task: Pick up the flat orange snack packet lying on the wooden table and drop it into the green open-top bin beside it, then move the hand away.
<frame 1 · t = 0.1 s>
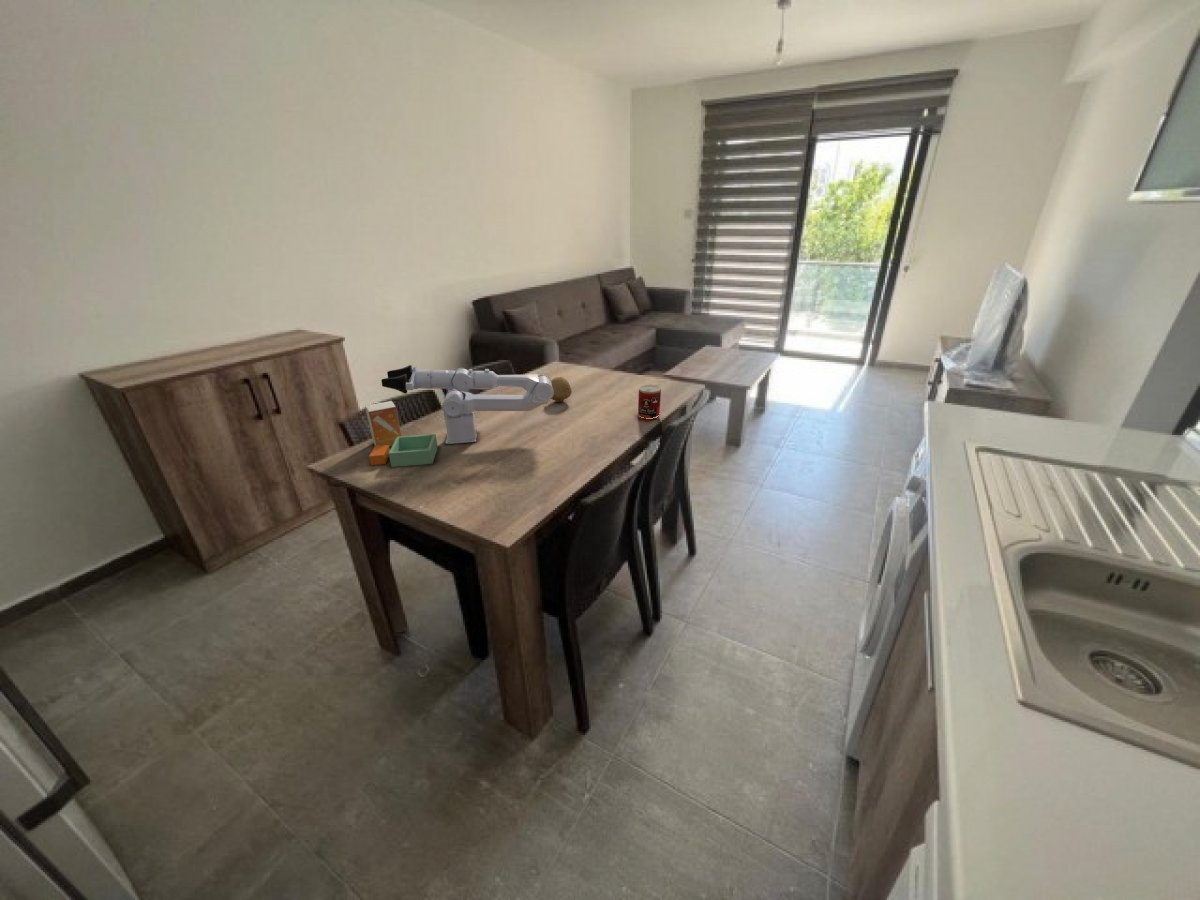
hand: (384, 378, 145), 22 cm above the table, tool horizontal, fingers open, 7 cm apart
natural sponge: (560, 402, 187), on the table
small box: (388, 444, 154), on the table
canned food: (648, 417, 173), on the table
packet: (381, 459, 144), on the table
green open-top bin: (415, 456, 146), on the table
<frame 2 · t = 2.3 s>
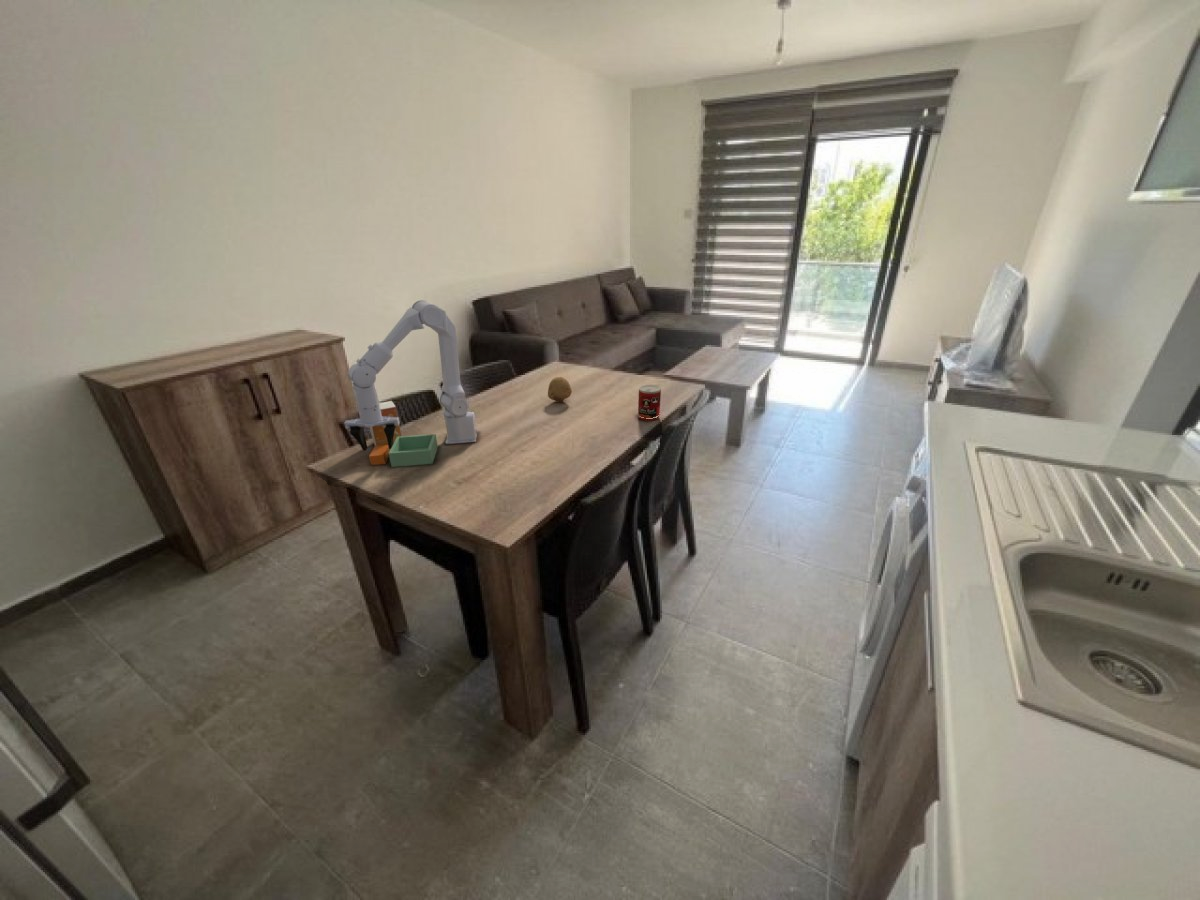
hand: (378, 448, 143), 4 cm above the table, tool pointing down, fingers open, 7 cm apart
nothing on the table moved.
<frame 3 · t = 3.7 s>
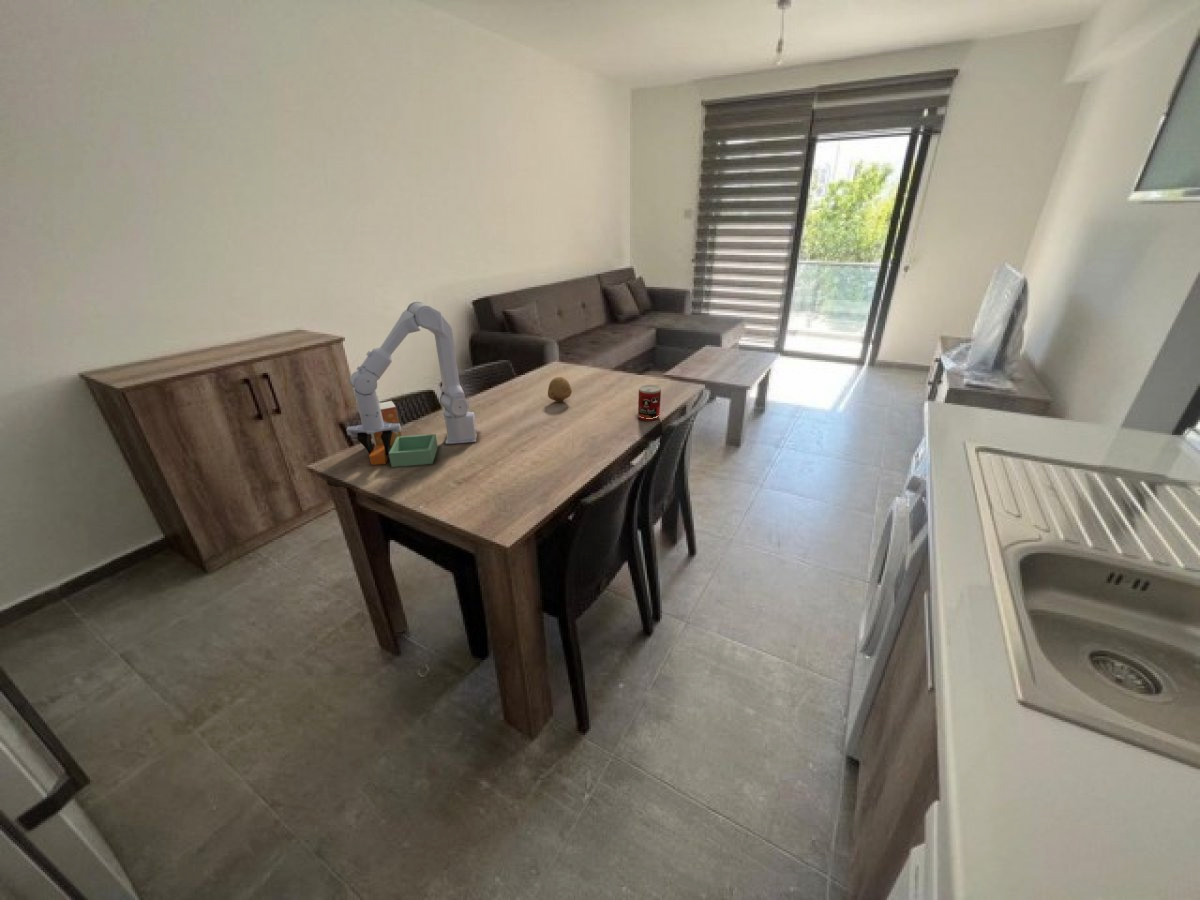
hand: (380, 454, 144), 2 cm above the table, tool pointing down, fingers closed on packet, 4 cm apart
packet: (381, 459, 144), on the table, touching gripper
everything else where it was.
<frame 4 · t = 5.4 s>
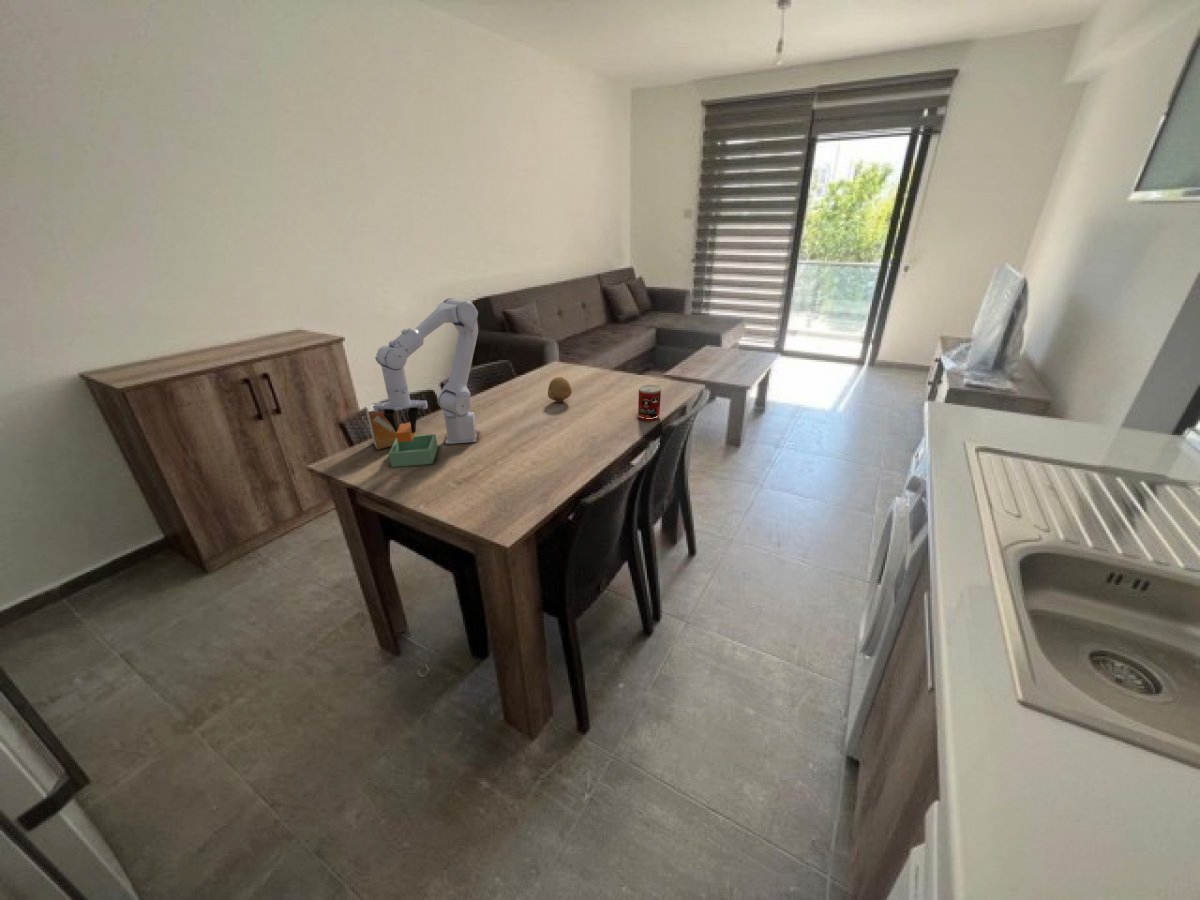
hand: (406, 432, 142), 8 cm above the table, tool pointing down, fingers closed on packet, 4 cm apart
packet: (407, 437, 143), point 7 cm above the table, touching gripper
everything else where it was.
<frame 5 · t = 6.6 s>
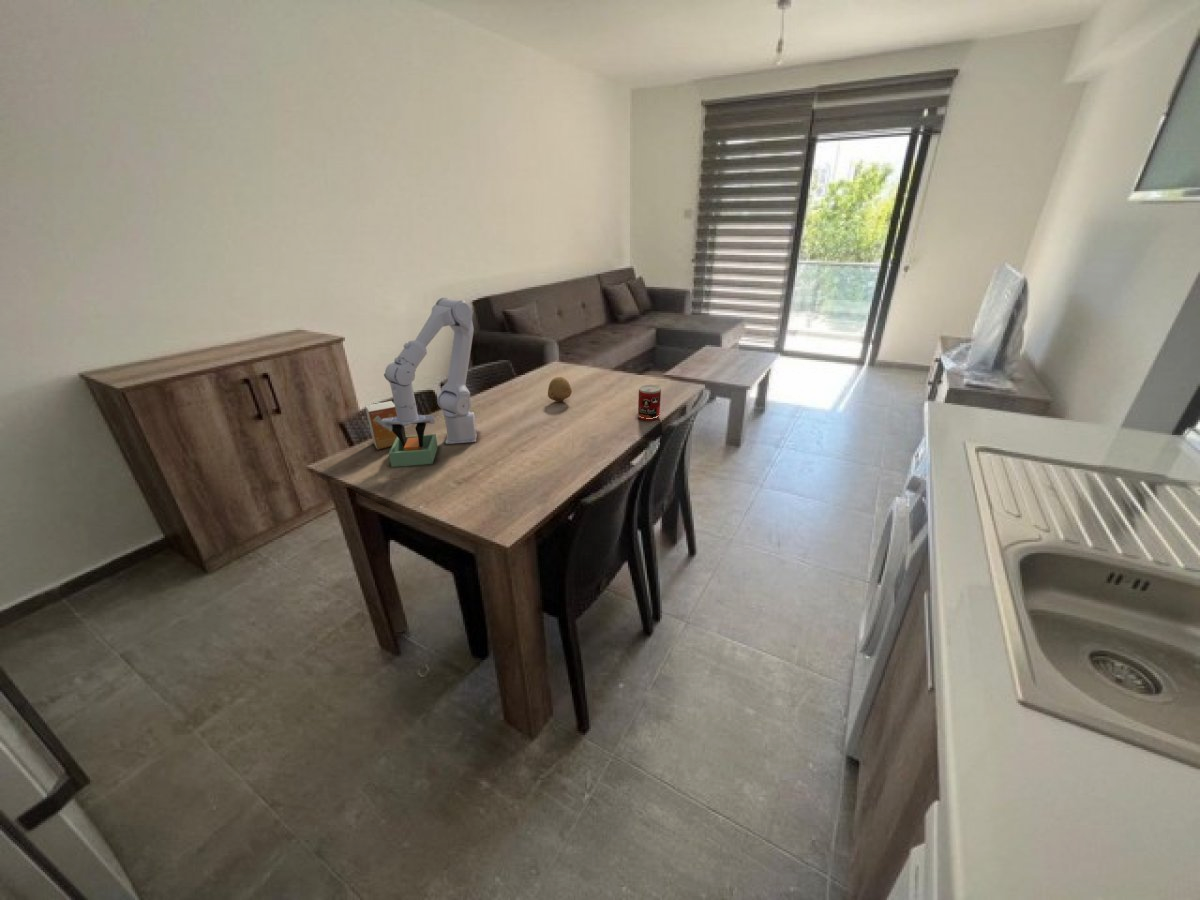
hand: (413, 446, 144), 3 cm above the table, tool pointing down, fingers closed on packet, 4 cm apart
packet: (414, 451, 145), point 2 cm above the table, touching gripper
everything else where it was.
when the fingers open (2 cm above the table, at t = 7.4 s): packet stays where it is, resting on green open-top bin.
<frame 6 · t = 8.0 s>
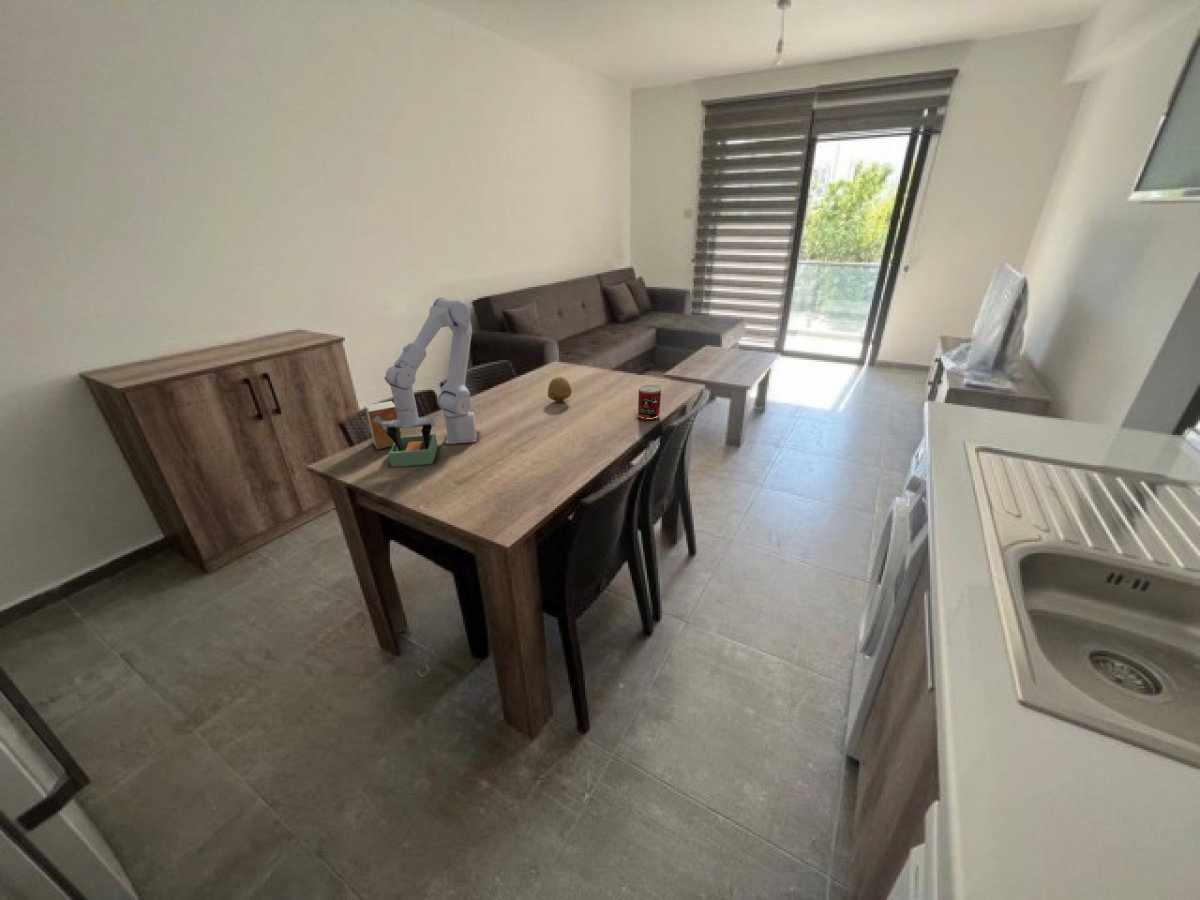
hand: (414, 448, 145), 3 cm above the table, tool pointing down, fingers open, 7 cm apart
packet: (415, 455, 146), resting on green open-top bin
everything else where it was.
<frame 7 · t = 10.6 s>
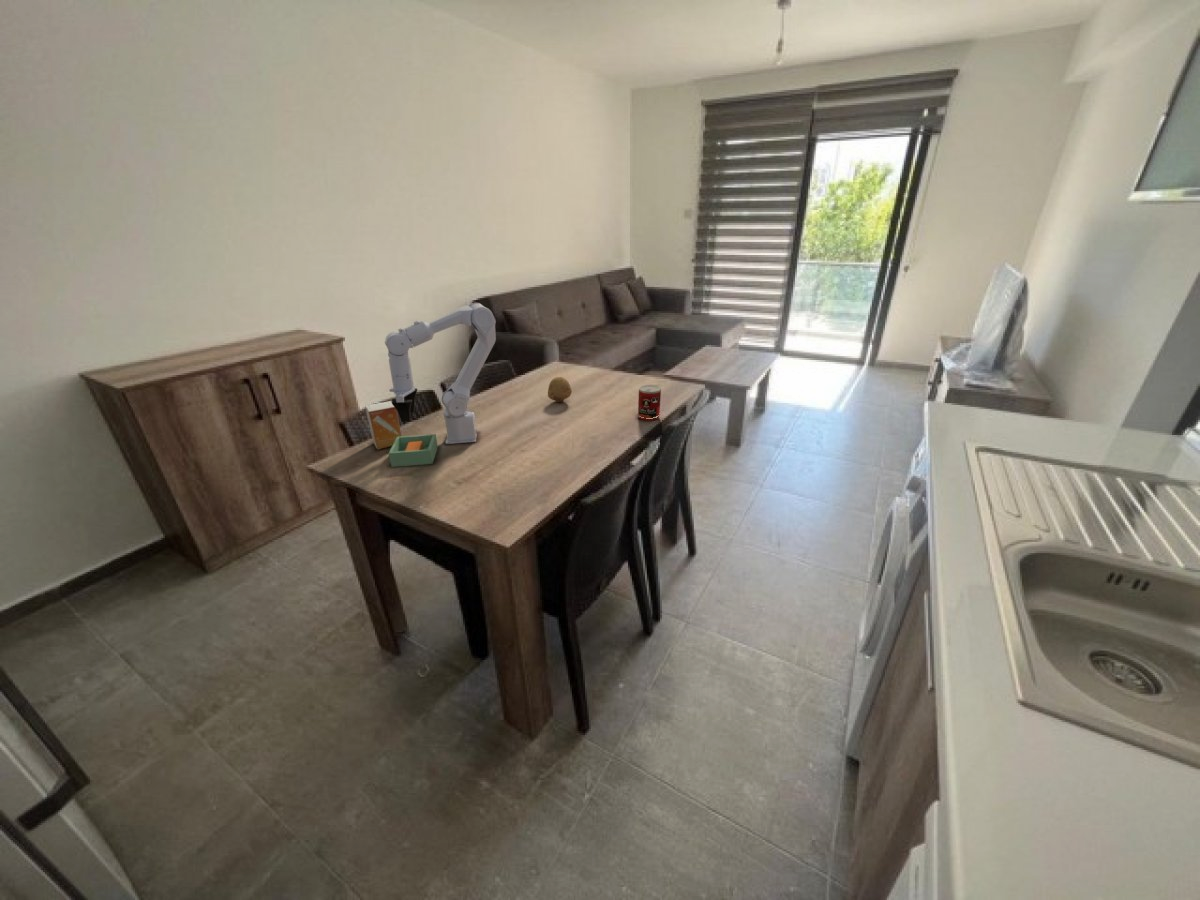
hand: (408, 416, 147), 10 cm above the table, tool pointing down, fingers open, 7 cm apart
nothing on the table moved.
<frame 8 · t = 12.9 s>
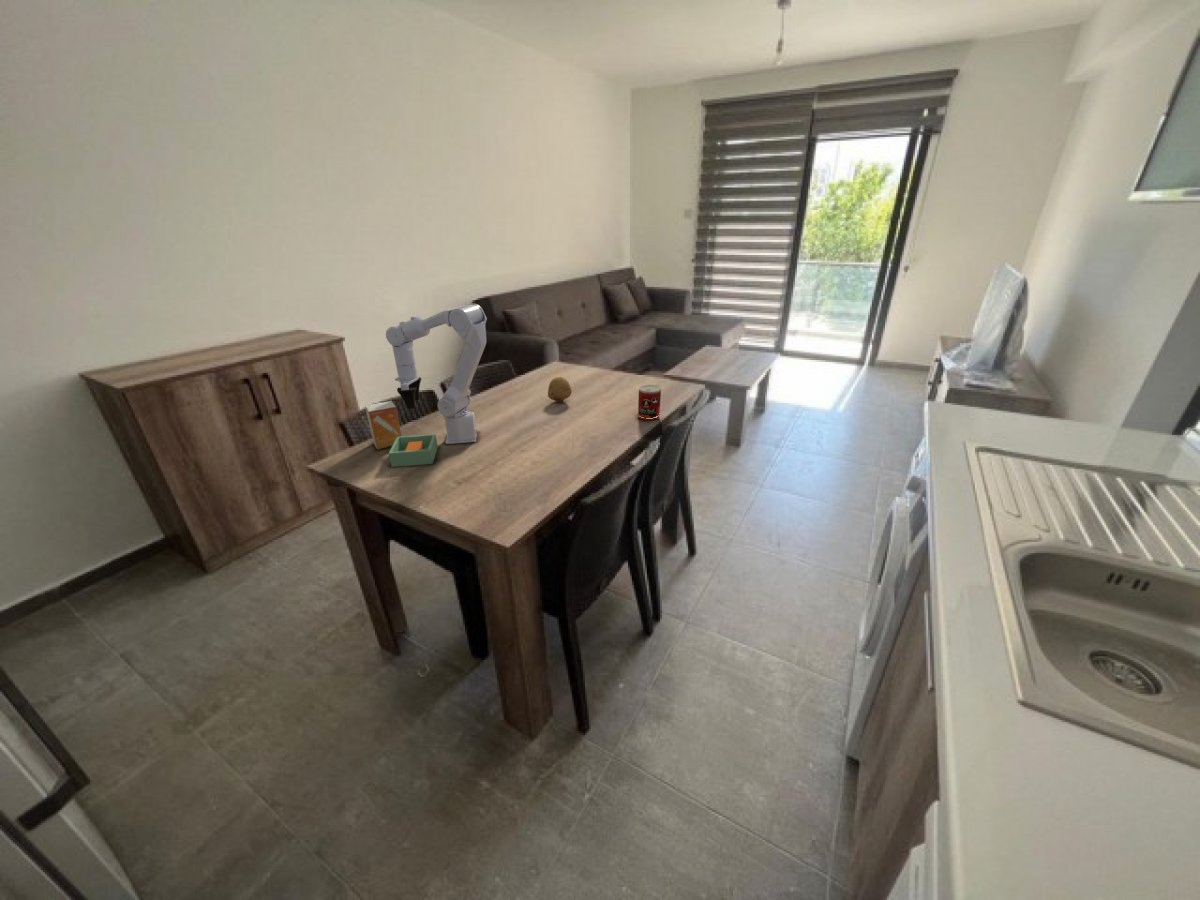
hand: (413, 404, 157), 10 cm above the table, tool pointing down, fingers open, 7 cm apart
nothing on the table moved.
at the end: packet inside the target area in the green open-top bin (0.0 cm from its centre), point 0.5 cm above the green open-top bin's base; the gripper is holding nothing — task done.
